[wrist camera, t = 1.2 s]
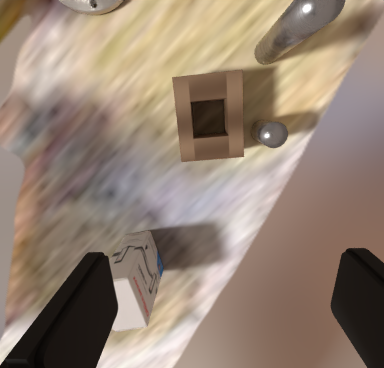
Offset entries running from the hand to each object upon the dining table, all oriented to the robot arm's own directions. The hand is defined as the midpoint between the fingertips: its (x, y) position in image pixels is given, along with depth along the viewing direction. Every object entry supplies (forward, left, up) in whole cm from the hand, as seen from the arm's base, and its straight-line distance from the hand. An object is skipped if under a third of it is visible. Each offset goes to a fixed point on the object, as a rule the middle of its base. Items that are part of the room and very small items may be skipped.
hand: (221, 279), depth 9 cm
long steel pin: (-13, +9, -25) cm, 30 cm away
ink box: (+17, -12, -26) cm, 33 cm away
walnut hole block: (-5, +1, -25) cm, 26 cm away
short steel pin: (-3, +8, -25) cm, 27 cm away
